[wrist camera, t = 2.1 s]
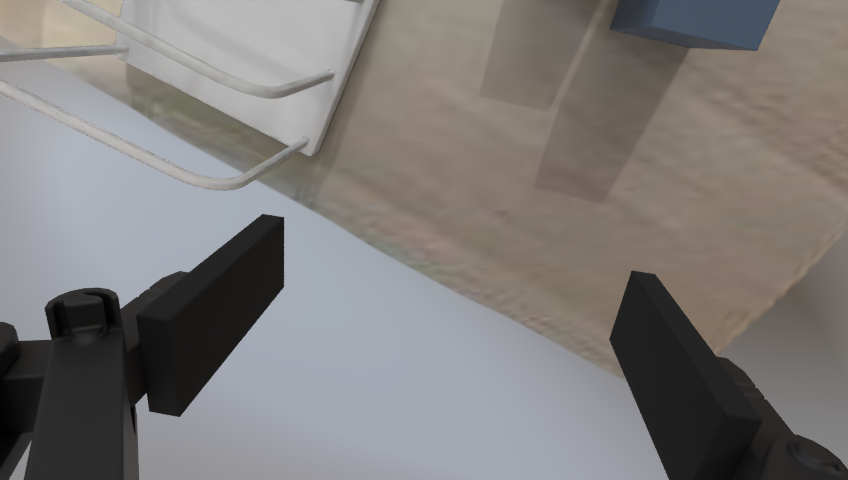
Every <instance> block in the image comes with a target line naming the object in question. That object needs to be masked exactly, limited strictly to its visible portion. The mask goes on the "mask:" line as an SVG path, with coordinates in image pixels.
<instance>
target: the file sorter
mask: <svg viewBox="0 0 848 480" xmlns="http://www.w3.org/2000/svg"><path fill="white" fill-rule="evenodd" d="M58 1H60V2H62V3H64V4H66V5H68V6H70V7H72V8H74V9H76V10H78V11H80V12H82V13H83V14H85V15H87V16H89V17H91V18H93V19H95V20H97V21H99V22H101V23H103V24H105V25H107V26H108V27H110V28H112V29H114V30H116V31H117V33H116V39H115V44H114V45H102V46H81V47H58V48H36V49H14V50H0V62H8V61H20V60H33V59H48V58H63V57H78V56H93V55H109V54H114V55H115V56H116V57H117V58H119V59H121V60H123V61H125V62H126V63H128V64H130V65H132V66H134V67H136V68H138V69H140V70H142V71H144V72H146V73H148V74H150V75H151V76H153V77H155V78H157V79H159V80H161V81H163V82H165V83H167V84H169V85H171V86H173V87H175V88H177V89H179V90H181V91H183V92H185V93H187V94H189V95H191V96H193V97H195V98H197V99H199V100H200V101H202V102H204V103H206V104H208V105H210V106H212V107H214V108H216V109H218V110H220V111H221V112H223V113H225V114H227V115H229V116H231V117H233V118H235V119H237V120H239V121H241V122H243V123H245V124H247V125H249V126H251V127H253V128H255V129H256V130H258V131H260V132H262V133H264V134H266V135H268V136H270V137H272V138H274V139H276V140H278V141H280V142H282V143H284V144H286V145H287V146H289V147H288V148H286V149H284V150H283V151H281V152H279V153H278V154H276V155H275V156H273V157H271V158H270V159H268V160H266V161H264V162H263V163H261V164H260V165H258V166H256V167H254V168H253V169H251V170H249V171H247V172H246V173H244V174H242V175H240V176H238V177H236V178H230V179H218V178H210V177H205V176H202V175H199V174H195V173H192V172H190V171H187V170H185V169H183V168H180V167H179V166H177V165H175V164H173V163H170V162H169V161H166V160H165V159H162V158H160V157H158V156H156V155H154V154H153V153H151V152H149V151H147V150H144V149H142V148H140V147H138V146H136V145H135V144H133V143H131V142H129V141H127V140H124V139H122V138H120V137H118V136H116V135H114V134H112V133H110V132H107V131H105V130H103V129H101V128H99V127H97V126H95V125H93V124H91V123H89V122H87V121H85V120H82V119H80V118H79V117H77V116H75V115H73V114H71V113H69V112H67V111H65V110H63V109H61V108H59V107H57V106H55V105H53V104H51V103H49V102H47V101H45V100H43V99H41V98H39V97H37V96H35V95H33V94H31V93H30V92H28V91H25V90H23V89H21V88H19V87H17V86H14V85H12V84H11V83H9V82H7V81H5V80H3V79H1V78H0V93H2V94H4V95H6V96H8V97H10V98H12V99H14V100H16V101H18V102H20V103H22V104H24V105H27V106H29V107H30V108H32V109H35V110H36V111H39V112H41V113H43V114H45V115H47V116H49V117H51V118H53V119H55V120H57V121H59V122H61V123H63V124H65V125H67V126H69V127H71V128H73V129H75V130H77V131H79V132H81V133H83V134H85V135H87V136H89V137H91V138H93V139H95V140H97V141H99V142H101V143H103V144H106V145H108V146H110V147H112V148H114V149H116V150H118V151H120V152H122V153H124V154H126V155H128V156H130V157H132V158H134V159H136V160H138V161H141V162H143V163H145V164H147V165H148V166H151V167H153V168H155V169H157V170H159V171H161V172H163V173H165V174H167V175H169V176H171V177H173V178H176V179H178V180H180V181H183V182H185V183H188V184H191V185H194V186H197V187H201V188H205V189H211V190H222V191H226V190H234V189H238V188H241V187H244V186H245V185H247V184H249V183H250V182H252V181H254V180H255V179H257V178H258V177H260V176H262V175H263V174H265V173H266V172H268V171H269V170H271V169H272V168H274V167H276V166H277V165H279V164H280V163H282V162H283V161H285V160H286V159H288V158H289V157H291V156H292V155H294V154H295V153H297V152H298V151H299V152H301V153H303V154H305V155H307V156H312V155H314V154H315V153H317V152H319V150H320V147H321V145H322V142H323V140H324V137H325V135H326V132H327V130H328V127H329V125H330V122H331V120H332V117H333V115H334V112H335V110H336V107H337V105H338V102H339V100H340V97H341V95H342V92H343V90H344V88H345V85H346V83H347V80H348V78H349V75H350V73H351V70H352V68H353V65H354V63H355V60H356V58H357V56H358V53H359V51H360V48H361V46H362V43H363V41H364V39H365V36H366V34H367V31H368V29H369V26H370V24H371V21H372V19H373V16H374V14H375V12H376V9H377V7H378V4H379V2H380V0H123V2H122V8H121V13H120V18H119V17H117V16H116V15H114V14H112V13H110V12H108V11H106V10H104V9H102V8H100V7H98V6H96V5H94V4H92V3H90V2H88V1H86V0H58Z"/></svg>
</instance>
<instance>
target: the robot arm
mask: <svg viewBox="0 0 848 480" xmlns="http://www.w3.org/2000/svg"><path fill="white" fill-rule="evenodd" d="M283 287H284V217H277V216H272V215H265V214H262V215H261V216H260V217H258V218H257V219H256V220H255V221H253V222H252V223H251V224H249V225H248V226H247V227H246V228H244V229H243V230H242V231H241V232H239V233H238V234H237V235H236V236H234V237H233V238H232V239H231V240H230V241H228V242H227V243H226V244H224V245H223V246H222V247H221V248H219V249H218V250H217V251H216V252H214V253H213V254H212V255H210V256H209V257H208V258H207V259H205V260H204V261H203V262H202V263H200V264H199V265H198V266H197V267H196V268H194V269H193V270H192V271H190V272H189V273H188V272H182V271H179V272H176V273H174V274H171V275H169V276H166V277H164V278H162V279H160V280H159V281H158V282H156V283H155V284H154V285H152V286H151V287H150V289H147V290H146V291H144V292H143V293H142V294H140V296H139V297H136V298H135V299H134V300H132V301H131V302H129V303H128V304H127V305H125V306H124V307H123V308H121V309H120V305H119V299H118V296H117V294H116V293H115V292H113V291H111V290H109V289H103V288H84V289H79V290H74V291H70V292H67V293H64V294H62V295H59V296H57V297H56V298H54V299H52V300H51V301H49V302H48V304H47V305H46V307H45V312H46V316H47V321H48V325H49V330H50V334H51V338H52V340H36V341H35V340H34V341H19V340H18V336H17V332H16V330H15V328H14V326H13V325H10V324H8V323H5V322H0V480H9V478H10V476H11V475H12V473H13V471H14V470H15V468H16V466H17V464H18V462H19V461H20V459H21V457H22V455H23V454H24V452H25V450H26V449H27V447H28V445H29V443H30V441H31V440H32V442H31V446H30V451H29V457H28V461H27V466H26V471H25V476H24V480H139V464H138V436H137V414H136V407H135V404H136V403H137V402H138V401H139V400H140V399H141V398H142V397H143V396H144V395H145V394H146V393H147V398H148V405H149V411H150V412H156V413H161V414H166V415H172V416H177V417H180V416H181V415H182V413H183V412H184V411H185V410H186V408H187V407H188V406H189V404H190V403H191V402H192V401H193V400H194V398H195V397H196V396H197V394H198V393H199V392H200V391H201V390H202V388H203V387H204V385H206V383H207V382H208V381H209V380H210V378H211V377H212V376H213V374H214V373H215V372H216V371H217V370H218V368H219V367H220V366H221V365H222V363H223V362H224V361H225V360H226V358H227V357H228V356H229V355H230V353H231V352H232V351H233V350H234V348H235V347H236V346H237V345H238V343H239V342H240V341H241V340H242V338H243V337H244V336H245V335H246V334H247V332H248V331H249V330H250V329H251V327H252V326H253V325H254V323H255V322H256V321H257V319H259V317H260V316H261V315H262V314H263V312H264V311H265V310H266V309H267V307H268V306H269V305H270V303H271V302H272V301H273V300H274V298H275V297H276V296H277V295H278V294H279V292H280V291H281V290H282V289H283ZM609 340H610V342H611V345H612V347H613V349H614V352H615V354H616V356H617V359H618V361H619V363H620V366H621V368H622V370H623V373H624V375H625V377H626V380H627V382H628V384H629V387H630V389H631V391H632V394H633V396H634V398H635V401H636V403H637V406H638V408H639V410H640V413H641V415H642V417H643V420H644V422H645V424H646V427H647V429H648V431H649V434H650V436H651V438H652V441H653V443H654V445H655V448H656V450H657V452H658V455H659V457H660V459H661V462H662V464H663V466H664V469H665V471H666V473H667V476H668V478H669V480H848V469H847V468H846V467H845V465H844V464H843V463H842V462H841V460H840V459H839V458H838V457H836V456H835V455H834V454H833V453H831V452H830V451H829V450H828V449H826V448H824V447H823V446H821V445H819V444H817V443H816V442H814V441H812V440H809V439H807V438H804V437H802V436H800V435H795V434H793V432H792V431H791V430H790V429H789V427H788V426H787V425H786V424H785V422H784V421H783V420H782V418H781V417H780V416H779V415H778V414H777V412H776V411H775V410H774V408H773V407H772V406H771V405H770V403H769V402H768V401H767V400H764V396H763V395H762V393H761V392H760V391H759V389H758V388H755V384H754V383H753V382H752V381H751V379H750V378H749V377H748V376H747V375H746V373H745V372H744V371H743V370H742V369H740V368H739V367H738V366H736V365H735V364H733V363H732V362H731V361H730V360H729V359H727V358H722V357H716V356H715V354H714V353H713V352H712V350H711V349H710V348H709V346H708V345H707V344H706V342H705V341H704V340H703V338H702V337H701V335H700V334H699V333H698V331H697V330H696V329H695V327H694V326H693V325H692V323H691V322H690V321H689V319H688V318H687V317H686V315H685V314H684V313H683V311H682V310H681V308H680V307H679V306H678V304H677V303H676V302H675V300H674V299H673V298H672V296H671V295H670V294H669V292H668V291H667V290H666V288H665V287H664V286H663V284H662V283H661V282H660V280H659V279H658V277H657V276H656V275H655V274H650V273H644V272H637V271H631V275H630V278H629V281H628V284H627V287H626V290H625V293H624V296H623V299H622V302H621V305H620V308H619V311H618V314H617V317H616V320H615V323H614V327H613V330H612V333H611V336H610V339H609Z"/></svg>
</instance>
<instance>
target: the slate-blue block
mask: <svg viewBox="0 0 848 480" xmlns="http://www.w3.org/2000/svg"><path fill="white" fill-rule="evenodd" d="M779 2H780V0H620V1H619V4H618V7H617V10H616V13H615V16H614V19H613V22H612V25H611V28H610V29H611V30H615V31H619V32H623V33H628V34H632V35H637V36H641V37H645V38H650V39H654V40H658V41H663V42H667V43H671V44H676V45H680V46H685V47H689V48H704V49H727V50H749V51H757V50H758V47H759V45H760V43H761V41H762V39H763V36H764V34H765V32H766V30H767V28H768V26H769V23H770V21H771V19H772V17H773V15H774V13H775V10H776V8H777V6H778V4H779Z"/></svg>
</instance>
